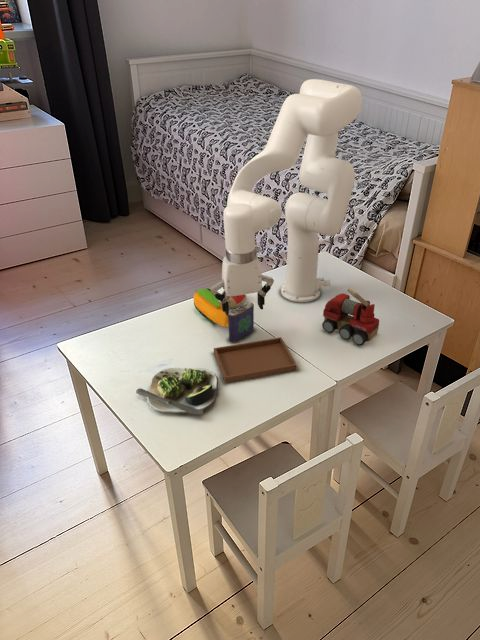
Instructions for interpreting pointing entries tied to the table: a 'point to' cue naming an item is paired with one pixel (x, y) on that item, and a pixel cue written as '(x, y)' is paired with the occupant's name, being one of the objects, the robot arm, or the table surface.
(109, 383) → the table surface
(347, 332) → the toy fire truck
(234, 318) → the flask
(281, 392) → the table surface
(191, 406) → the avocado toast plate
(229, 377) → the tray
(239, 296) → the ladybug figurine
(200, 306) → the corn
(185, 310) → the table surface
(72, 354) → the table surface
